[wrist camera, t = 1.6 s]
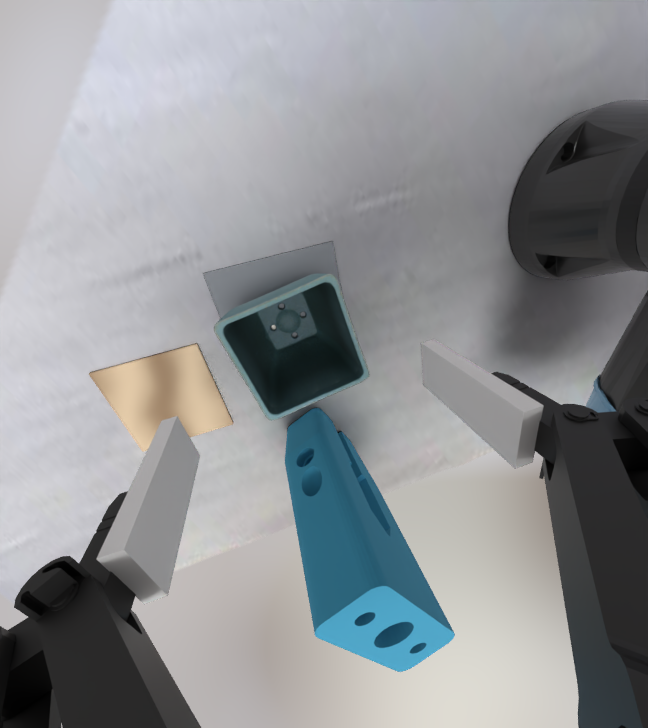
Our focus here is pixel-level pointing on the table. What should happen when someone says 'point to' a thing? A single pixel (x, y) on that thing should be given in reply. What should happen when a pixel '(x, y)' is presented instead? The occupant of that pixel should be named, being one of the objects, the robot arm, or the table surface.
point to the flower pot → (294, 345)
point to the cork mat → (164, 393)
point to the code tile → (268, 276)
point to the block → (357, 554)
